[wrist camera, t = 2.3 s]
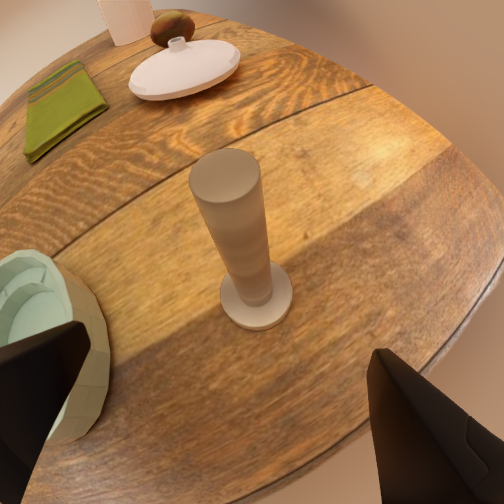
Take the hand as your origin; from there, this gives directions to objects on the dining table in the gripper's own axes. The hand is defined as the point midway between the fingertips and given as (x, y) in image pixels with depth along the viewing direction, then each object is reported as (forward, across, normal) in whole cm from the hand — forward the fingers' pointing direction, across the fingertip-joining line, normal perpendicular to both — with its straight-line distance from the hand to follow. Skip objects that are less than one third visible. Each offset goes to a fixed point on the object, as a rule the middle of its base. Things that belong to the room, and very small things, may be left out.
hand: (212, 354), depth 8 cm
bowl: (+6, +19, +10) cm, 22 cm away
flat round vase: (+33, +12, -16) cm, 39 cm away
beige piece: (+12, 0, +5) cm, 13 cm away
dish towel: (+36, +41, -19) cm, 58 cm away
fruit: (+44, +18, -27) cm, 55 cm away
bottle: (+56, +34, -39) cm, 76 cm away
